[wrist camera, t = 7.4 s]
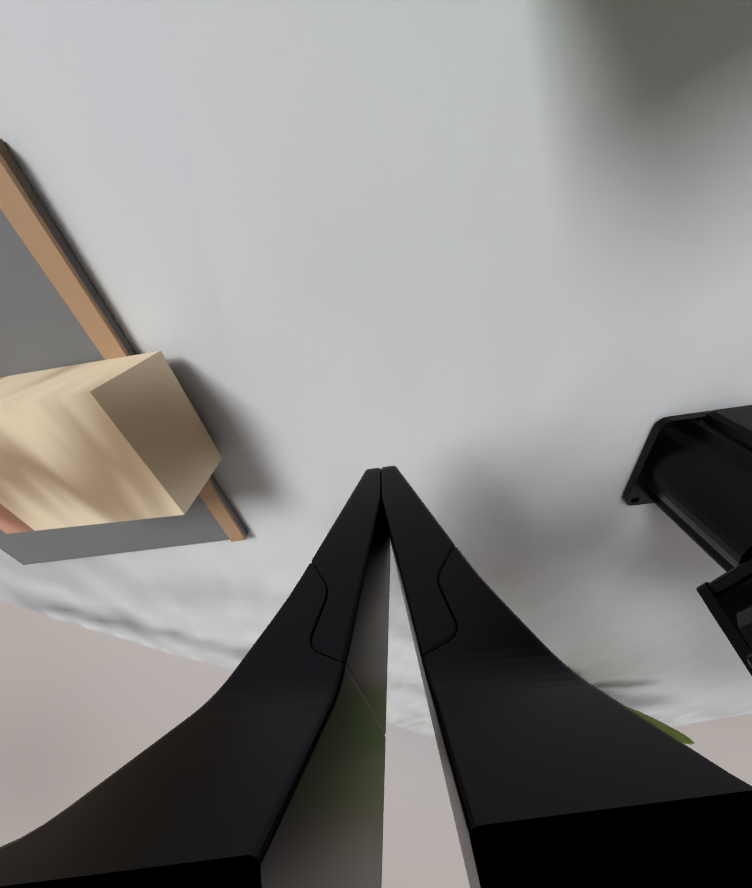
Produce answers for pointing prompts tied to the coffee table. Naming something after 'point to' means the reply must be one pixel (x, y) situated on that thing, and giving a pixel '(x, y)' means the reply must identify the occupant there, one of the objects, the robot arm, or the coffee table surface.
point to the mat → (70, 343)
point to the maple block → (99, 445)
